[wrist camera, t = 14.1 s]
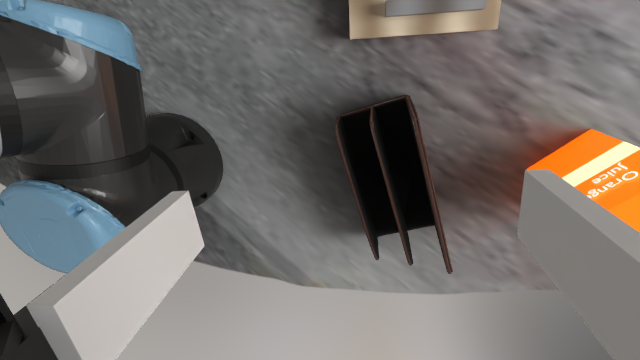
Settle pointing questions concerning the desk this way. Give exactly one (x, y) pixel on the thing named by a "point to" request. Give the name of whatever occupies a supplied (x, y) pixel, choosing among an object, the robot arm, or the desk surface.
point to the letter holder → (390, 172)
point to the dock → (420, 17)
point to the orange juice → (601, 172)
